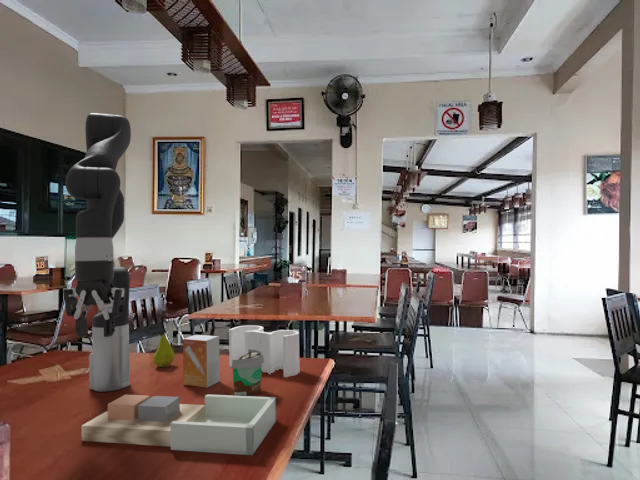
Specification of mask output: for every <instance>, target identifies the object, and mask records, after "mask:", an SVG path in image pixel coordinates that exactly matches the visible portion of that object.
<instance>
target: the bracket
mask: <svg viewBox="0 0 640 480" xmlns="http://www.w3.org/2000/svg"><path fill="white" fill-rule="evenodd" d="M264 329H265V328H264V326H263V325H262V326H261V325H239V326H235V327H232V328H229V329H228V349H229V350H228V353H229V354H228V355H229V358H228V359H229V367H230V368H232V360H238V359H239V358H240V357H241V356H244V355H246V354H248V349H250V350H258V351H261V352H262V354H263V357H264V363H262V372H261V373H266V372H267V374H268V375H272V374H271V373H273V374H274V372H276V371H275V370H277V371H279V369H281V370H283V378H288V377H293V376H296V375H299V374H300V373H301V372H300V367H301V366H300V332H299V331H297V330H293V329H292V330H291V329H281V330H274V331H271V332H268V331H264ZM298 373H299V374H298Z"/></svg>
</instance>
